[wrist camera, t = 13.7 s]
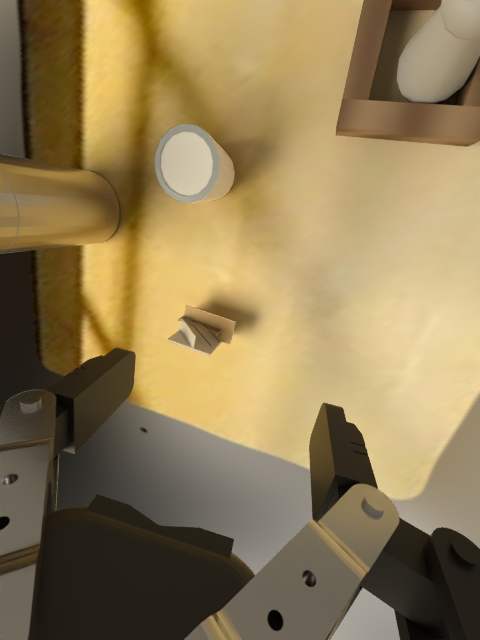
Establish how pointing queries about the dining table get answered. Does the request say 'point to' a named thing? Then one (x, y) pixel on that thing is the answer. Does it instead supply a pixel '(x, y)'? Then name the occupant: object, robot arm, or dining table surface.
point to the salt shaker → (441, 53)
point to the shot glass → (193, 165)
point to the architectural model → (203, 330)
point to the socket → (401, 117)
